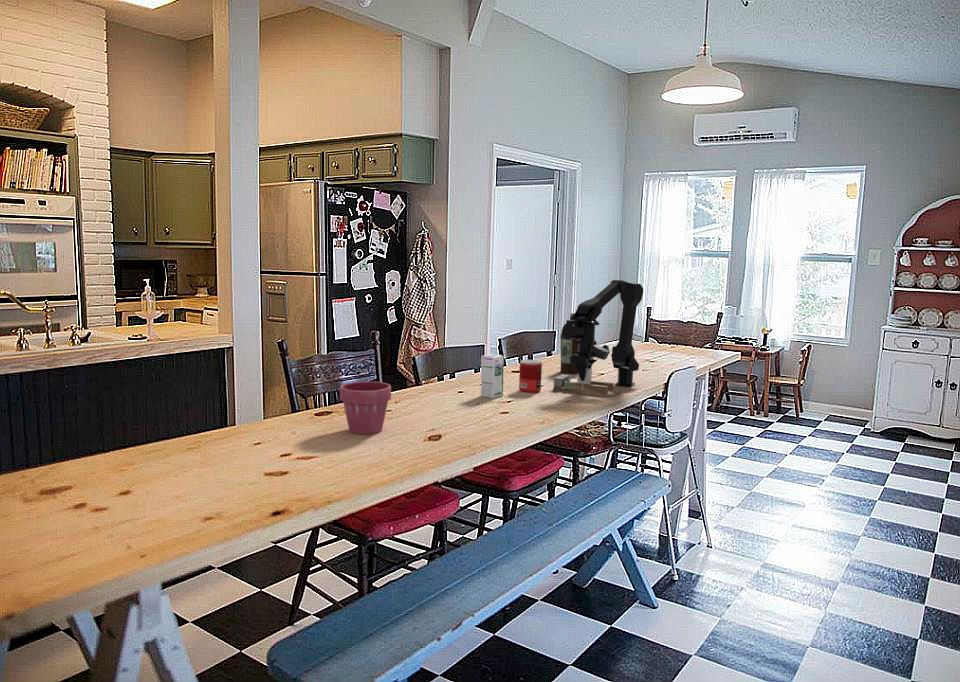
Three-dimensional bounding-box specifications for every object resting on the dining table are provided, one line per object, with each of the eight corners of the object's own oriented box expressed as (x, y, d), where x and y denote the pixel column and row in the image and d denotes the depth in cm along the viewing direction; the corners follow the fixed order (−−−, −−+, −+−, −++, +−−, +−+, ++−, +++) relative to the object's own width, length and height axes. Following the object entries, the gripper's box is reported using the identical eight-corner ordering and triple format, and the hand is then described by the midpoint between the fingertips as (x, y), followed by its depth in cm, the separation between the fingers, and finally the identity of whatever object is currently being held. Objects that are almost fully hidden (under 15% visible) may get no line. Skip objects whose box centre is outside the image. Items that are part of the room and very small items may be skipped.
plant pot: (335, 425, 204) (335, 381, 203) (383, 422, 210) (384, 379, 208) (345, 438, 191) (345, 391, 190) (396, 435, 196) (397, 389, 195)
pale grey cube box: (569, 384, 270) (570, 365, 269) (591, 387, 266) (592, 367, 265) (563, 387, 263) (564, 368, 262) (585, 390, 259) (586, 370, 258)
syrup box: (493, 398, 247) (494, 357, 246) (479, 395, 251) (481, 355, 249) (503, 396, 252) (504, 355, 250) (489, 393, 255) (490, 353, 254)
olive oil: (572, 369, 312) (574, 312, 308) (589, 373, 303) (592, 314, 300) (553, 371, 305) (556, 312, 302) (570, 375, 297) (573, 315, 294)
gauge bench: (562, 385, 274) (563, 374, 273) (619, 392, 265) (620, 380, 264) (552, 390, 264) (553, 378, 264) (611, 397, 255) (611, 385, 254)
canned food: (541, 393, 258) (542, 363, 257) (519, 392, 259) (520, 362, 257) (540, 389, 266) (541, 359, 265) (518, 388, 266) (519, 359, 265)
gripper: (600, 342, 250) (598, 386, 252) (615, 336, 267) (612, 378, 269) (570, 339, 255) (568, 382, 257) (586, 334, 272) (584, 375, 274)
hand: (584, 379), depth 264 cm, fingers closed on pale grey cube box, 4 cm apart
